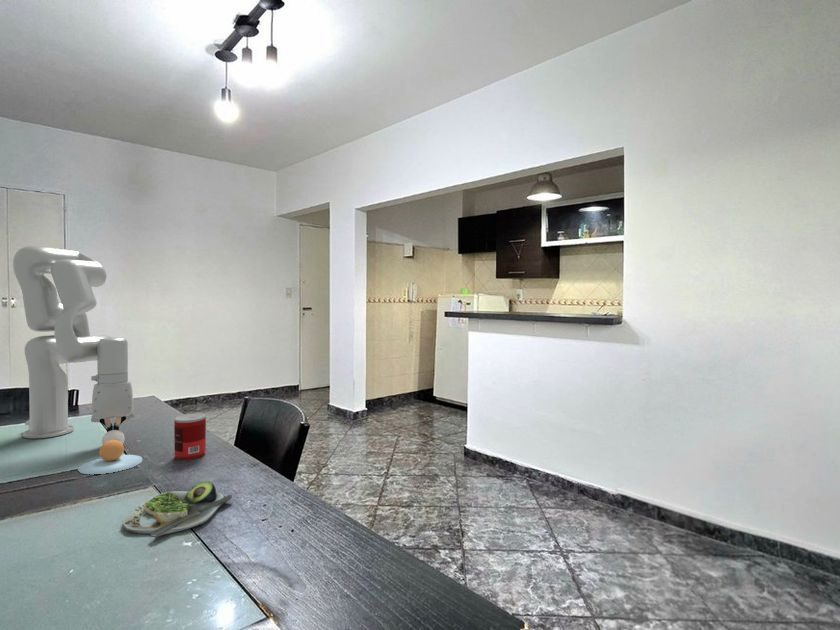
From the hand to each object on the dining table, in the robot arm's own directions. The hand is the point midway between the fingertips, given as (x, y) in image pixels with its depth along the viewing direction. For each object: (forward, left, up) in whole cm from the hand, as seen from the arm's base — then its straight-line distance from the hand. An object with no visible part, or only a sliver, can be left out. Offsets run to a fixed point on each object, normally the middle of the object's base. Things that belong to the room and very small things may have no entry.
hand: (113, 438), depth 134 cm
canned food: (+29, -1, -2) cm, 29 cm away
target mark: (+15, -13, -2) cm, 20 cm away
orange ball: (+13, -11, +1) cm, 17 cm away
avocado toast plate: (+53, -29, -2) cm, 60 cm away
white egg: (+4, -3, +1) cm, 6 cm away
